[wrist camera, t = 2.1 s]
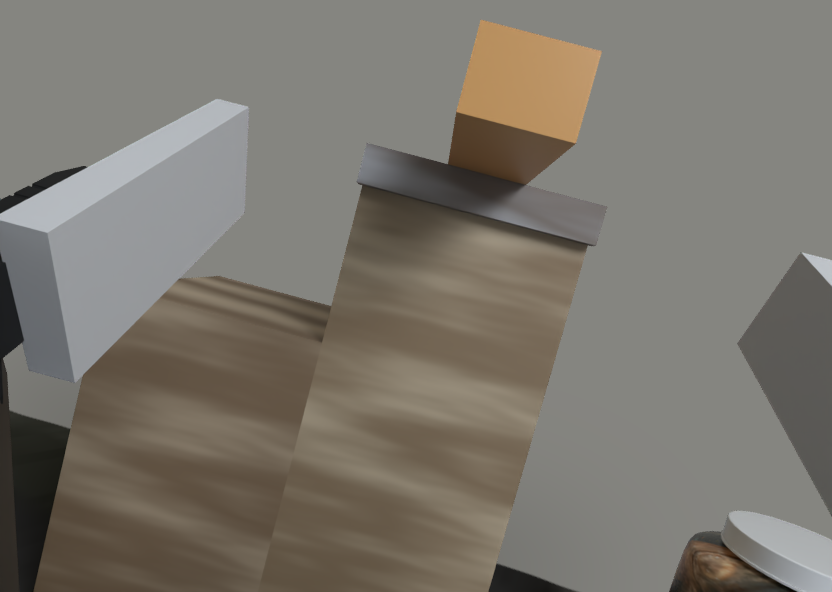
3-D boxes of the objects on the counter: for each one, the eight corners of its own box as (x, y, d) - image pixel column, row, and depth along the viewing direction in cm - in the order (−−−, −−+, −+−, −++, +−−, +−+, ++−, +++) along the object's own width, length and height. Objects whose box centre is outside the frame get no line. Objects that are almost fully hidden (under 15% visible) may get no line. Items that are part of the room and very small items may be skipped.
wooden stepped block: (165, 500, 47) (250, 150, 45) (443, 576, 46) (541, 227, 44) (15, 633, 30) (140, 82, 28) (449, 755, 30) (607, 206, 28)
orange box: (442, 200, 44) (452, 163, 44) (491, 213, 44) (501, 176, 44) (456, 111, 18) (480, 19, 18) (575, 143, 18) (602, 51, 18)
